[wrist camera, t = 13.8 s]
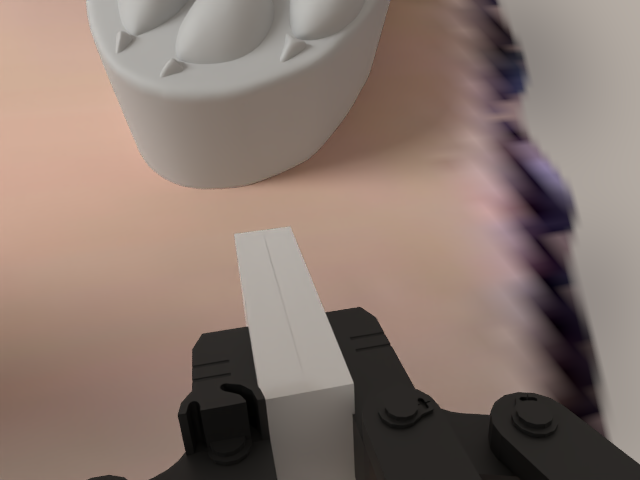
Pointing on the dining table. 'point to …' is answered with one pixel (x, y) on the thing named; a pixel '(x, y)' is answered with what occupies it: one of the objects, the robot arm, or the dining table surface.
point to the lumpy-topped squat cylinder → (234, 80)
